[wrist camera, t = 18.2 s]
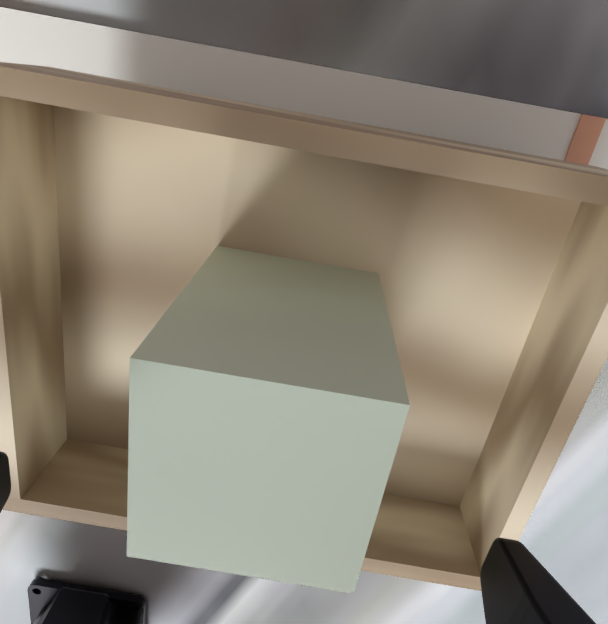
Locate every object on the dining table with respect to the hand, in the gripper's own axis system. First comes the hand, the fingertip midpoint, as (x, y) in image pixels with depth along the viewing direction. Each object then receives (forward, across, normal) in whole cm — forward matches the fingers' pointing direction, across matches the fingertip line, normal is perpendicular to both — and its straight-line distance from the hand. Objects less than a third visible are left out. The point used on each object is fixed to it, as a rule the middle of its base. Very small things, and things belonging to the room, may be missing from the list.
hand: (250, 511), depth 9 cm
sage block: (+8, 0, 0) cm, 8 cm away
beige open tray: (+12, 0, 0) cm, 12 cm away
